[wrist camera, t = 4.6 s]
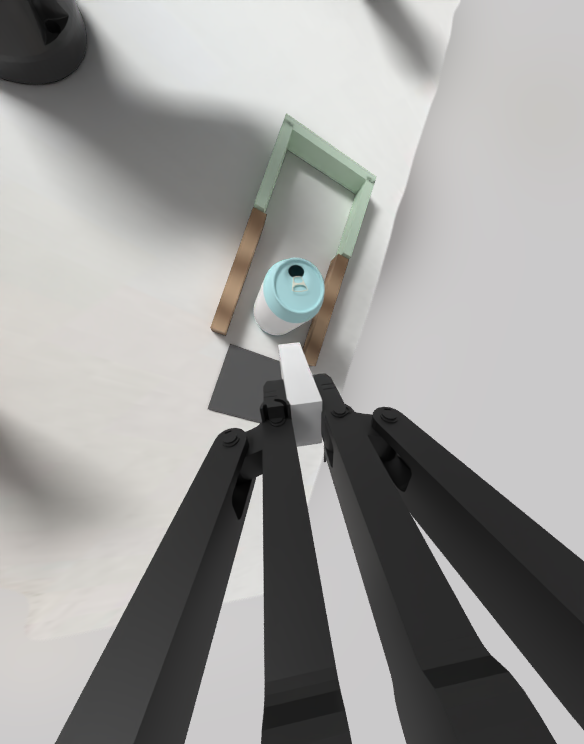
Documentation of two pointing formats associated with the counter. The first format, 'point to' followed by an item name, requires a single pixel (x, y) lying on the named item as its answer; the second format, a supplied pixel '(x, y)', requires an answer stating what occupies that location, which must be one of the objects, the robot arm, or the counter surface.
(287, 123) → the corral
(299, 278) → the can
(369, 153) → the counter surface
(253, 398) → the pit mat
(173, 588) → the robot arm
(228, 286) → the channel
